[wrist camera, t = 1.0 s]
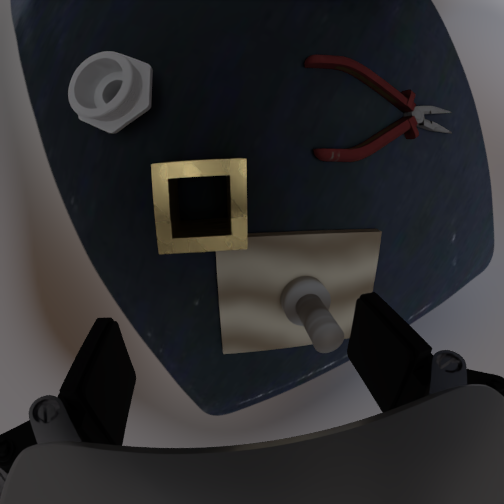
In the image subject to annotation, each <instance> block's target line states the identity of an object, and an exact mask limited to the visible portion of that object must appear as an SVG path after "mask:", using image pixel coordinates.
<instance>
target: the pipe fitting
mask: <svg viewBox="0 0 504 504" xmlns="http://www.w3.org/2000/svg"><path fill="white" fill-rule="evenodd" d="M152 76H153V69H152V68H151V66H150V65H149V64H147V63H145V62H142V61H139V60H137V59H134V58H131V57H128V56H126V55H123V54H120V53H117V52H113V51H105V52H100V53H97V54H94V55H92V56H91V57H89V58H87V59H86V60H85V61H84V62H82V63H81V64H80V66H79V67H78V68H77V69H76V71H75V72H74V74H73V76H72V79H71V81H70V84H69V89H68V98H69V103H70V105H71V107H72V109H73V110H74V111H75V112H76V113H77V114H78V118H79V119H80V120H82V121H84V122H86V123H88V124H91V125H93V126H95V127H97V128H100V129H102V130H104V131H106V132H108V133H113V134H115V133H117V132H119V131H120V130H121V129H123V128H124V127H126V126H127V125H128V124H130V123H131V122H132V121H134V120H135V119H137V118H138V117H139V116H141V115H142V114H144V113H145V112H147V111H148V110H149V109H150V108H151V101H152Z"/></svg>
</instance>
